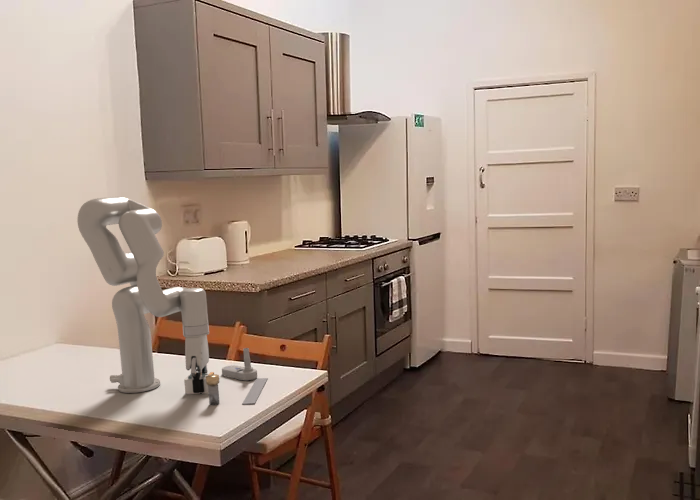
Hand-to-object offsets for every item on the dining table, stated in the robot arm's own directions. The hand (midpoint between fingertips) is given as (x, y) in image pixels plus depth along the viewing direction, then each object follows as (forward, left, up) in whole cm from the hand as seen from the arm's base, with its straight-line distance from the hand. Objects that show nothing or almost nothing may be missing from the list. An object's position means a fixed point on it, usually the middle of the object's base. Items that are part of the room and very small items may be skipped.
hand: (201, 389), depth 208 cm
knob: (+7, -12, -1) cm, 14 cm away
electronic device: (+9, +14, -1) cm, 17 cm away
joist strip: (+17, -2, -1) cm, 17 cm away
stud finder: (0, 0, -1) cm, 1 cm away
